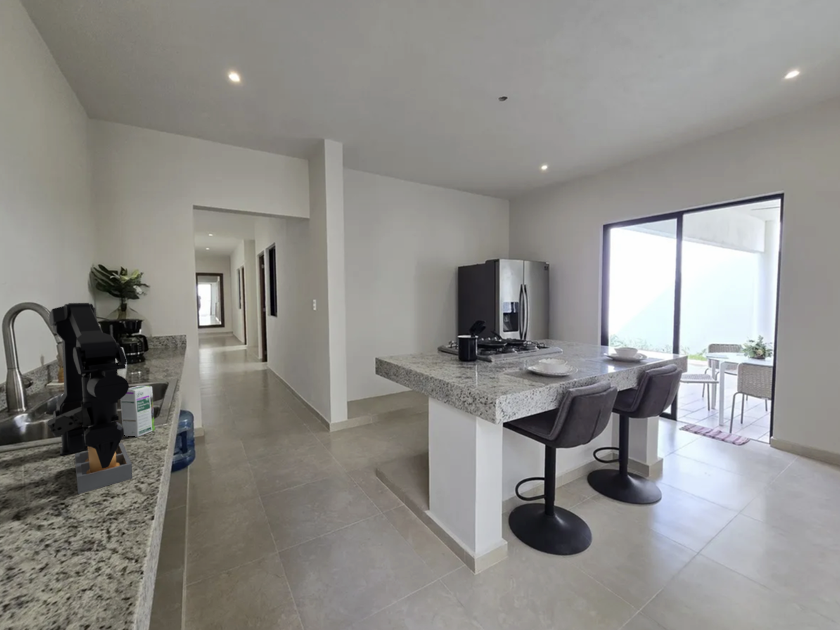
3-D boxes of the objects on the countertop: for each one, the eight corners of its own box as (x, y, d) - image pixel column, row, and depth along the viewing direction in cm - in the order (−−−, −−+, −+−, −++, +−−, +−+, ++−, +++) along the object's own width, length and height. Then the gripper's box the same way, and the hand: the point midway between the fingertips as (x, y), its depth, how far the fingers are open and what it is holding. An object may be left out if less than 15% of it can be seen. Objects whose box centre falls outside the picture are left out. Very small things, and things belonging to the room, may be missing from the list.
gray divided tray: (75, 467, 88) (74, 443, 88) (123, 455, 94) (122, 433, 94) (78, 494, 76) (76, 466, 75) (132, 478, 82) (131, 453, 82)
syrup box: (137, 437, 107) (135, 390, 106) (121, 436, 108) (119, 389, 108) (155, 430, 113) (153, 385, 112) (140, 429, 114) (137, 384, 113)
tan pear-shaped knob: (86, 474, 82) (84, 445, 82) (118, 466, 86) (117, 438, 86) (87, 484, 78) (85, 452, 78) (121, 474, 82) (119, 444, 82)
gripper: (50, 394, 82) (54, 460, 83) (48, 411, 69) (52, 489, 70) (113, 385, 90) (116, 445, 91) (122, 399, 77) (126, 469, 78)
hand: (103, 461), depth 82 cm, fingers open, 9 cm apart
